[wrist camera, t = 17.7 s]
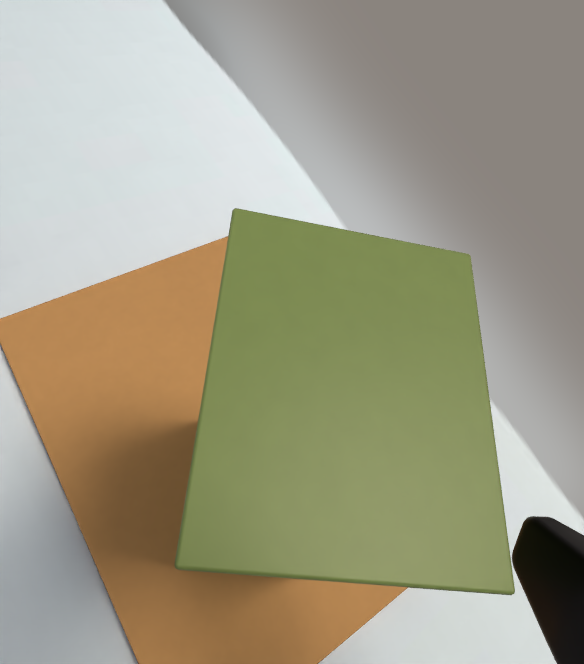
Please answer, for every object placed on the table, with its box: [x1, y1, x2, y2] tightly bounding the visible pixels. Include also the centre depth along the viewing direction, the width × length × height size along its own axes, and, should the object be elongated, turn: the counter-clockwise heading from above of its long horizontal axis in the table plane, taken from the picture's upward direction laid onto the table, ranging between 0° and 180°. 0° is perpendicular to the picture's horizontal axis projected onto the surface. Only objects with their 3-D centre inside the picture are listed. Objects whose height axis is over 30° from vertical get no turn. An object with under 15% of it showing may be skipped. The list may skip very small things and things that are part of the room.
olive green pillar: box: [174, 208, 515, 595], centre depth 12 cm, size 5×4×12 cm
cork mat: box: [0, 237, 408, 664], centre depth 18 cm, size 12×16×1 cm
